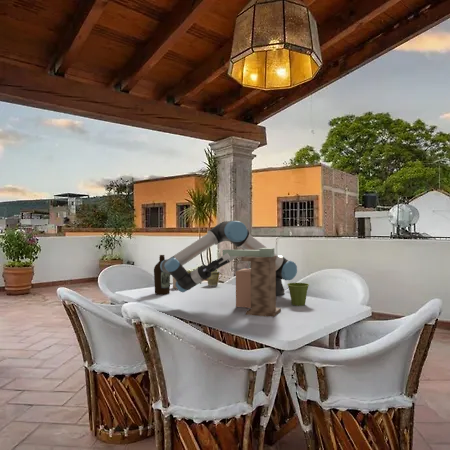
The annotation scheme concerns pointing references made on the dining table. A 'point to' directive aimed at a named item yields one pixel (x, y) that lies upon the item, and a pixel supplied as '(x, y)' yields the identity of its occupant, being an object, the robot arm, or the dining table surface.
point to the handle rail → (251, 252)
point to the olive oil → (161, 279)
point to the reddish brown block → (243, 288)
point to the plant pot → (298, 293)
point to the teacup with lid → (174, 283)
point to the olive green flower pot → (214, 278)
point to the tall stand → (263, 286)
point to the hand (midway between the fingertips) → (233, 254)
